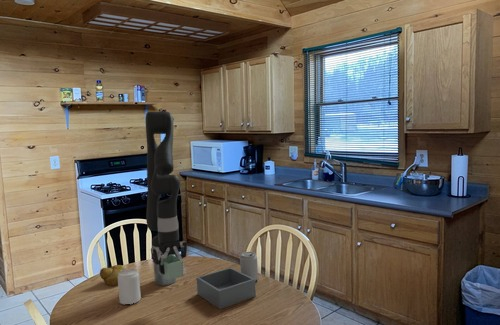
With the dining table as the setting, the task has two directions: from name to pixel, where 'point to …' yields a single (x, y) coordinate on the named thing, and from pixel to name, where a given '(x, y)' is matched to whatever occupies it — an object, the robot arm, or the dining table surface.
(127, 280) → the white cylinder
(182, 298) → the dining table surface
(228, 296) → the big crate
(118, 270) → the bread roll
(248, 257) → the can
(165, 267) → the small crate
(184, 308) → the dining table surface
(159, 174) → the robot arm
